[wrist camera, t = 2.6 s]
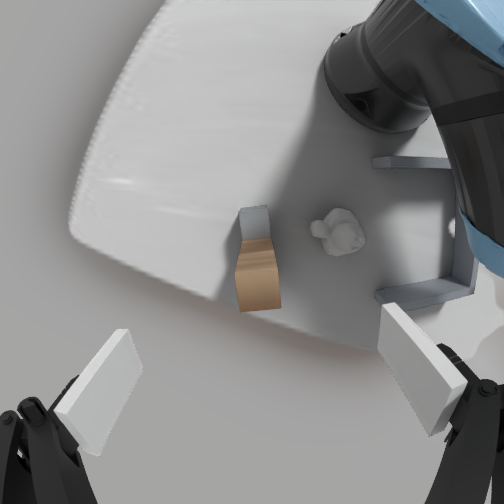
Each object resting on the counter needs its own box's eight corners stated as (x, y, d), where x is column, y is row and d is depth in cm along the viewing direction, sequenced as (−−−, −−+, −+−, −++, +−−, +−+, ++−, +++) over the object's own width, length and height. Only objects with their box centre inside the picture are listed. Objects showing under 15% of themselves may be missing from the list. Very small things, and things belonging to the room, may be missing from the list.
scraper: (241, 208, 31) (228, 230, 18) (266, 205, 31) (273, 225, 18) (250, 280, 34) (245, 345, 20) (274, 278, 34) (284, 341, 20)
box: (372, 158, 29) (390, 156, 25) (459, 161, 29) (480, 161, 24) (374, 298, 34) (389, 314, 29) (455, 281, 33) (473, 293, 29)
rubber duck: (350, 254, 33) (375, 276, 25) (300, 244, 33) (313, 265, 25) (360, 211, 31) (389, 223, 24) (310, 200, 31) (326, 208, 23)
